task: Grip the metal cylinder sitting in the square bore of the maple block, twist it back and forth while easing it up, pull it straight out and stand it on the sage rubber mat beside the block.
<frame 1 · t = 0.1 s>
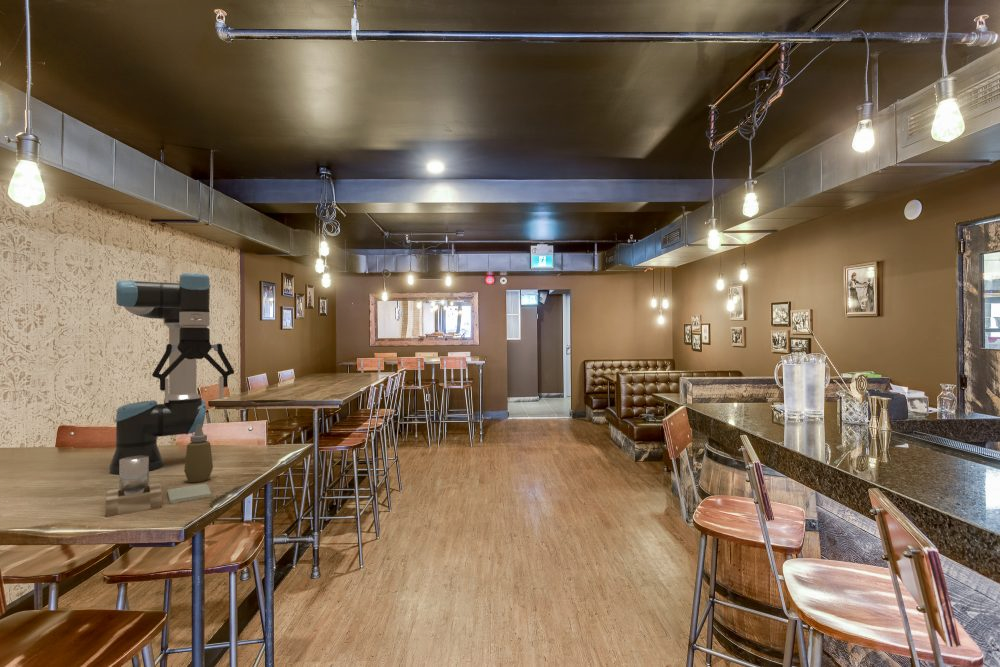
hand: (194, 400, 145), 28 cm above the table, tool pointing down, fingers open, 13 cm apart
squeeze bottle: (198, 480, 162), on the table
bore block: (134, 505, 138), on the table
mat: (189, 494, 147), on the table
metal cylinder: (134, 482, 138), in the bore block
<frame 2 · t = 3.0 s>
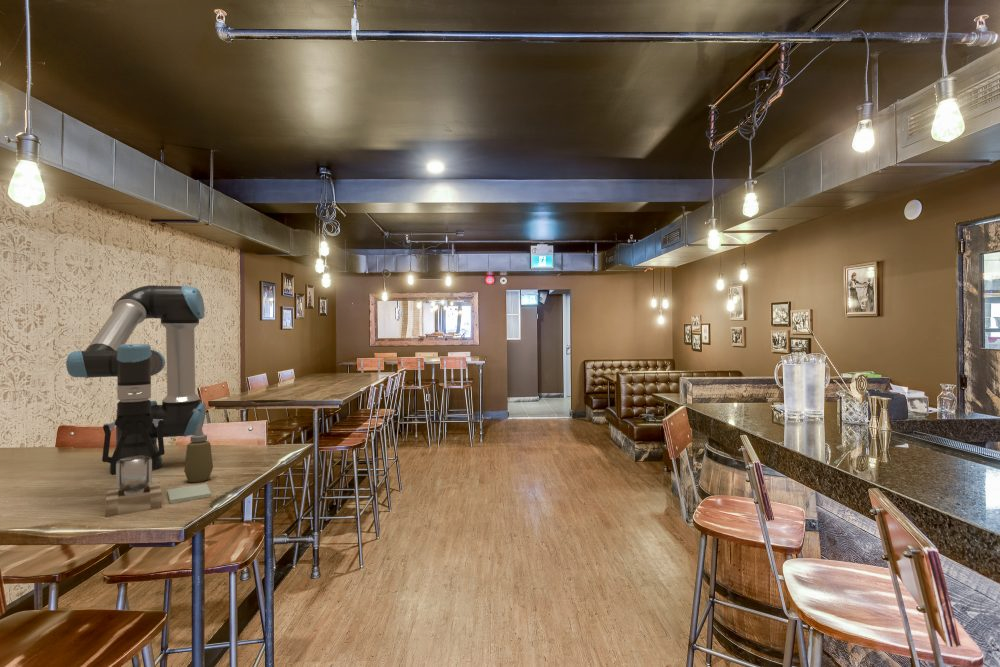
hand: (134, 483, 138), 6 cm above the table, tool pointing down, fingers closed on metal cylinder, 6 cm apart
metal cylinder: (134, 482, 138), in the bore block, touching gripper
everything else where it was.
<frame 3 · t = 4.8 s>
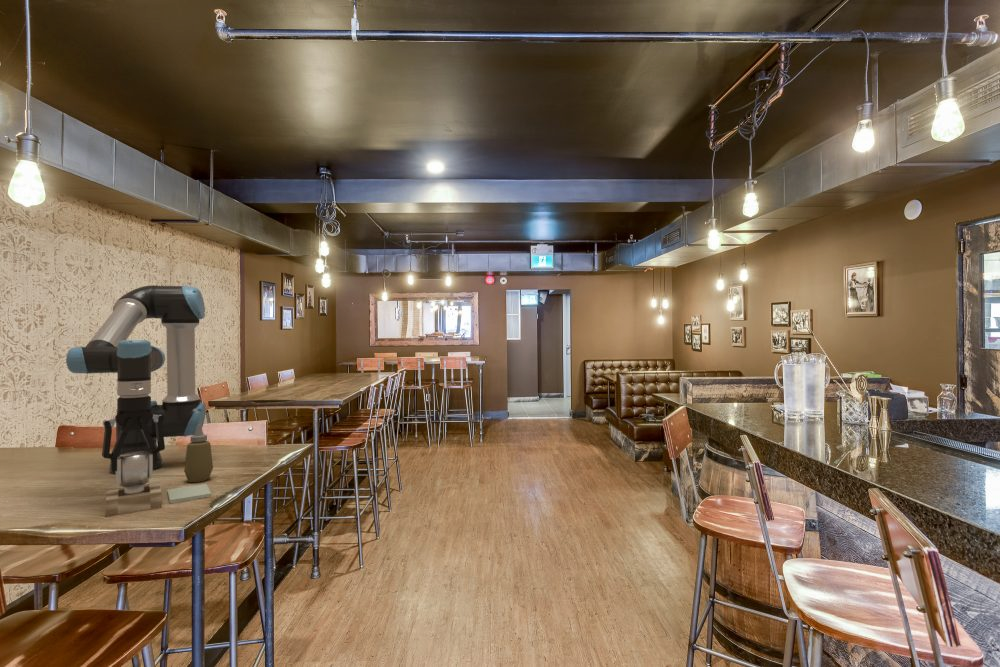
hand: (134, 479, 138), 7 cm above the table, tool pointing down, fingers closed on metal cylinder, 6 cm apart
metal cylinder: (134, 477, 138), point 8 cm above the table, touching gripper
everything else where it was.
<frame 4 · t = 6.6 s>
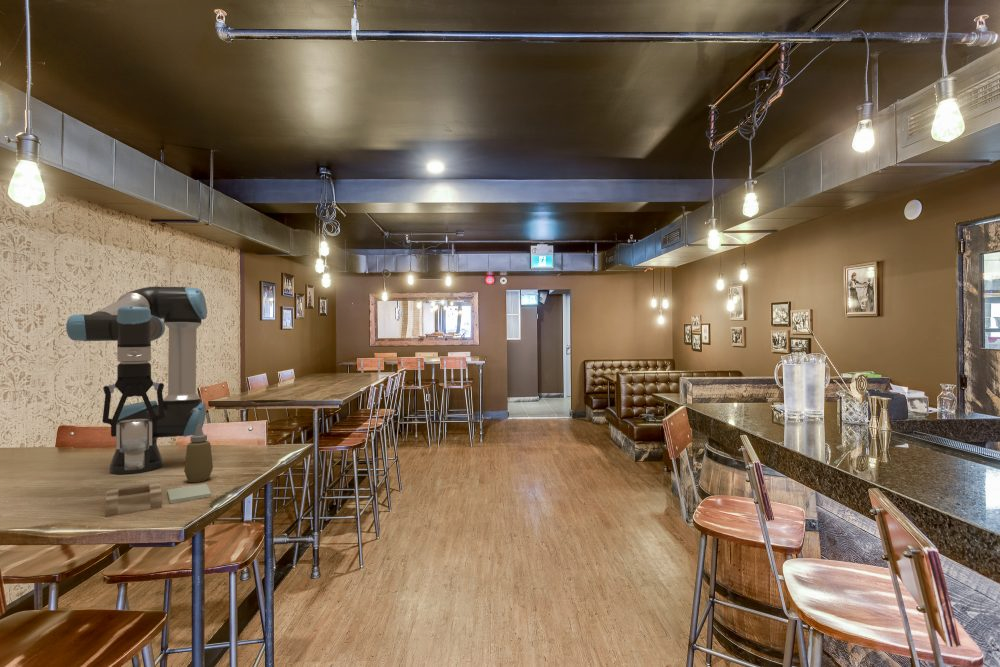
hand: (134, 446, 138), 16 cm above the table, tool pointing down, fingers closed on metal cylinder, 6 cm apart
metal cylinder: (134, 444, 138), point 17 cm above the table, touching gripper
everything else where it was.
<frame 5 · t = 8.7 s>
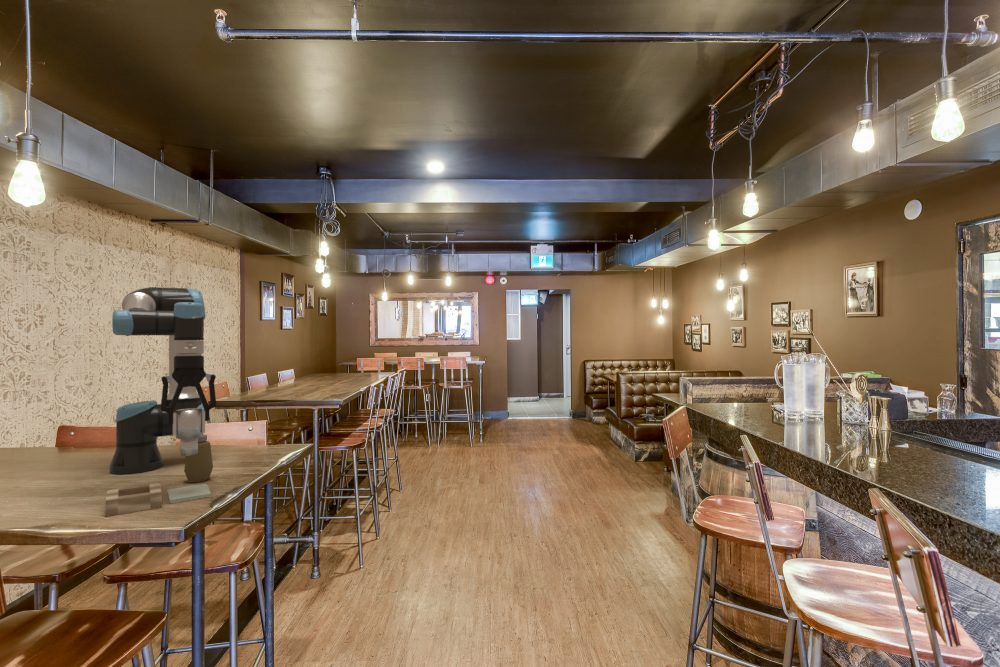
hand: (189, 433, 147), 18 cm above the table, tool pointing down, fingers closed on metal cylinder, 6 cm apart
metal cylinder: (189, 431, 147), point 18 cm above the table, touching gripper
everything else where it was.
when the fingers open (8 cm above the table, at t = 10.4 s): metal cylinder drops 1 cm, resting on mat.
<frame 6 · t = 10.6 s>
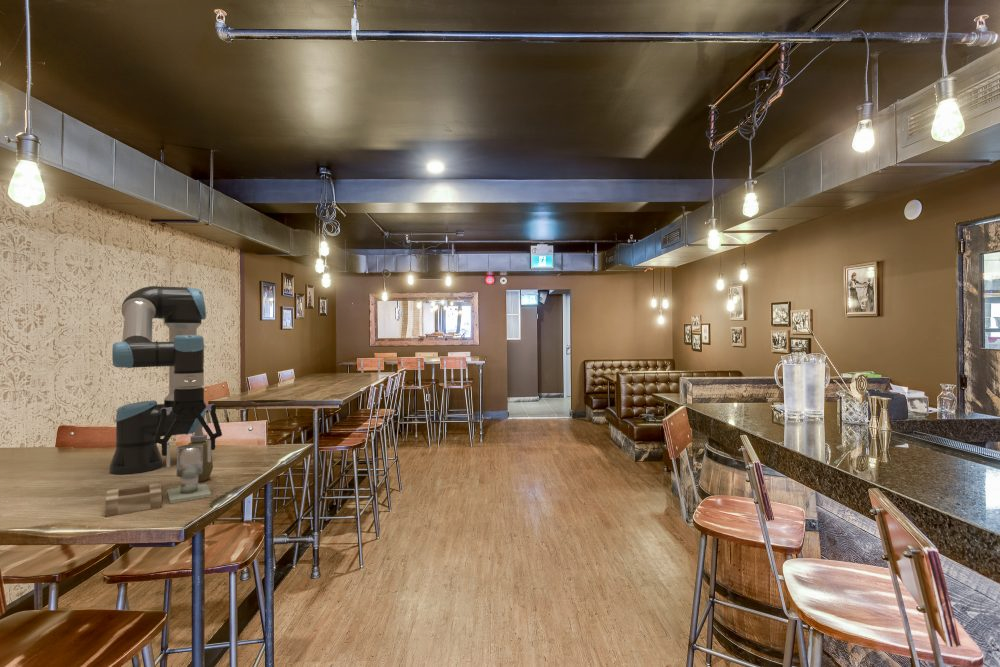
hand: (189, 463, 147), 9 cm above the table, tool pointing down, fingers open, 9 cm apart
metal cylinder: (189, 469, 147), on the mat, point 8 cm above the table
everything else where it was.
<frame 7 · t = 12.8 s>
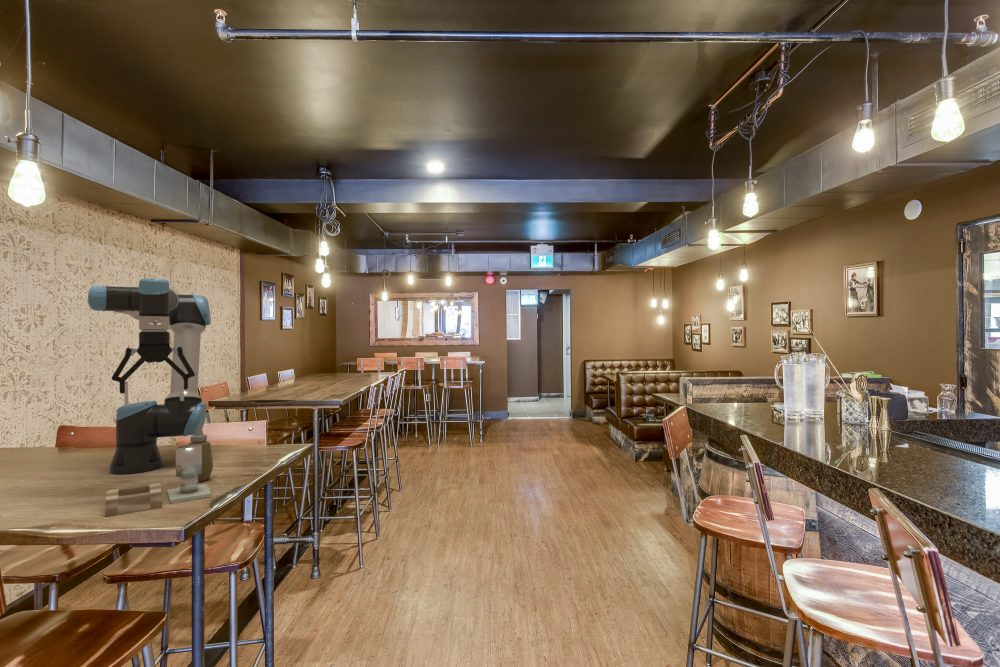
hand: (154, 402, 149), 27 cm above the table, tool pointing down, fingers open, 13 cm apart
nothing on the table moved.
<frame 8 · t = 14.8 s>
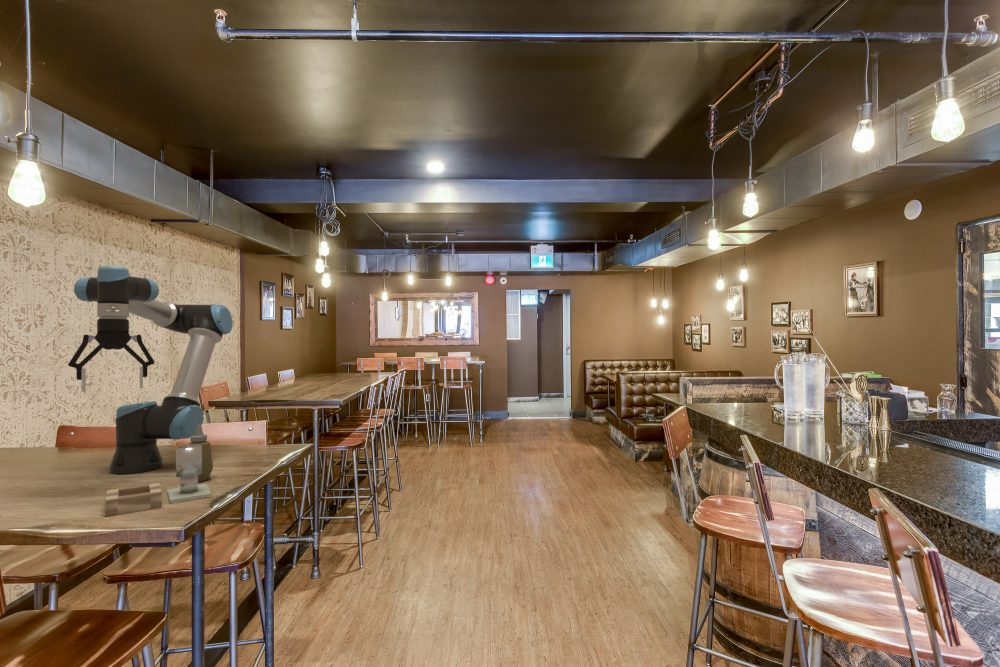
hand: (113, 389, 149), 31 cm above the table, tool pointing down, fingers open, 13 cm apart
nothing on the table moved.
at the end: metal cylinder inside the target area on the mat (0.0 cm from its centre), point 7.5 cm above the mat's base; metal cylinder tilted 0°; metal cylinder touching mat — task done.
